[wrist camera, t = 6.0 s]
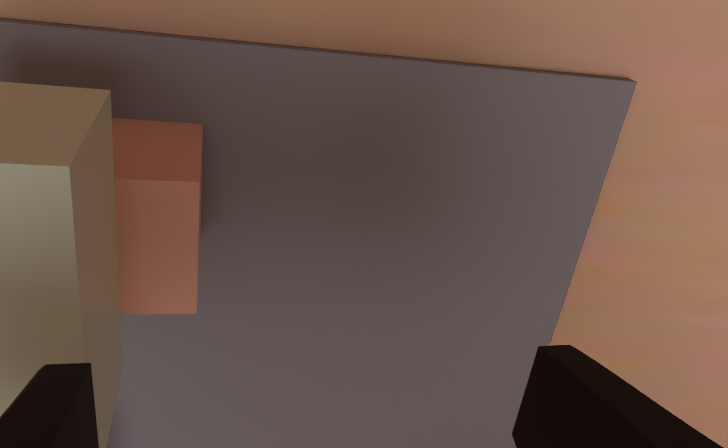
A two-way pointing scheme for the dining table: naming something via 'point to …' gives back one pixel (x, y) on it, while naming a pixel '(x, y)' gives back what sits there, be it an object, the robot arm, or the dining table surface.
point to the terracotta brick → (157, 214)
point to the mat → (347, 235)
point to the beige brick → (58, 240)
